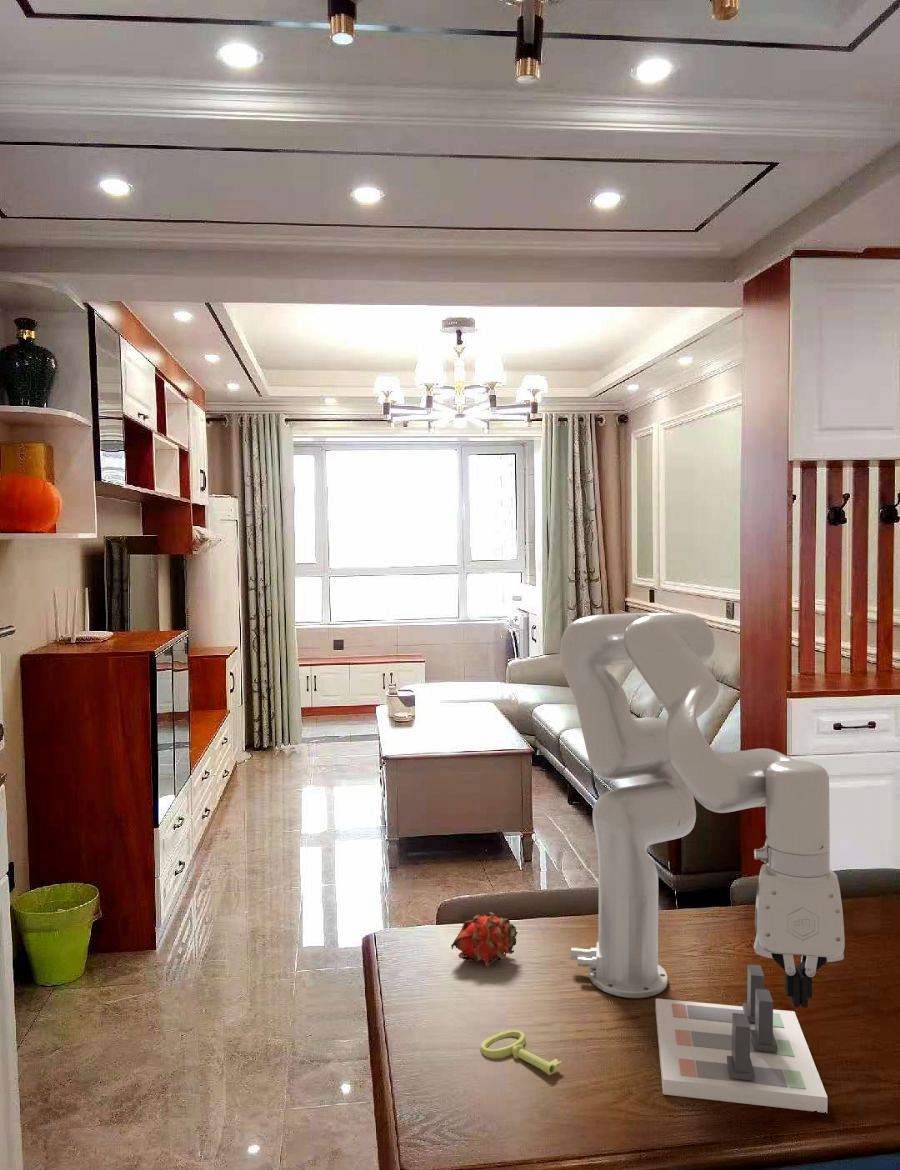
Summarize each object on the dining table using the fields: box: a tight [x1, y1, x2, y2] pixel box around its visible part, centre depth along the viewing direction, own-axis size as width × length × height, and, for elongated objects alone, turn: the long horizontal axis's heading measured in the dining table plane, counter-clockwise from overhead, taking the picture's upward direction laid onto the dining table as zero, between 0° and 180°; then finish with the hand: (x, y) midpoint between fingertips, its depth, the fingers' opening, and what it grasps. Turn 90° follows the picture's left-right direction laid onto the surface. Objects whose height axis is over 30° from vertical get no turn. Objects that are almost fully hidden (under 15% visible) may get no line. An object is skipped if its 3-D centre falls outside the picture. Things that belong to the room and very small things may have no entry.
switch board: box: [655, 998, 829, 1114], centre depth 118 cm, size 20×20×2 cm
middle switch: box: [750, 988, 777, 1052], centre depth 117 cm, size 3×4×7 cm
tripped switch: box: [727, 1013, 755, 1081], centre depth 111 cm, size 3×4×7 cm
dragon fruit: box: [450, 911, 519, 967], centre depth 146 cm, size 8×8×12 cm
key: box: [479, 1029, 563, 1075], centre depth 120 cm, size 7×12×2 cm, turn 58°
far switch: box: [742, 964, 765, 1022], centre depth 124 cm, size 3×4×7 cm
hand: (798, 1001), depth 109 cm, fingers closed
